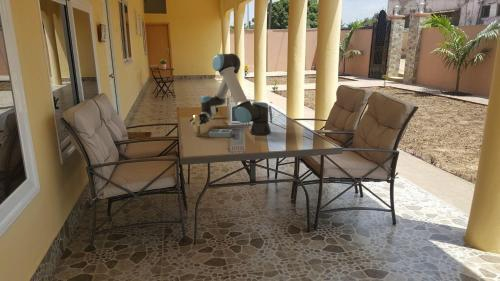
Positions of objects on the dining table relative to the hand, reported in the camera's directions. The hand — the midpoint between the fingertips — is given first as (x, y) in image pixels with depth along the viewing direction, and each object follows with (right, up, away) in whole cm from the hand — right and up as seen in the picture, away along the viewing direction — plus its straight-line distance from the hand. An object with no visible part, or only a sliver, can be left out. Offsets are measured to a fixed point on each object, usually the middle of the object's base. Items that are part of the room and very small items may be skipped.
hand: (194, 124), depth 262 cm
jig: (+18, -8, +7) cm, 21 cm away
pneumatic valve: (+5, +8, +68) cm, 68 cm away
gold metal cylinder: (+1, -7, +7) cm, 10 cm away
